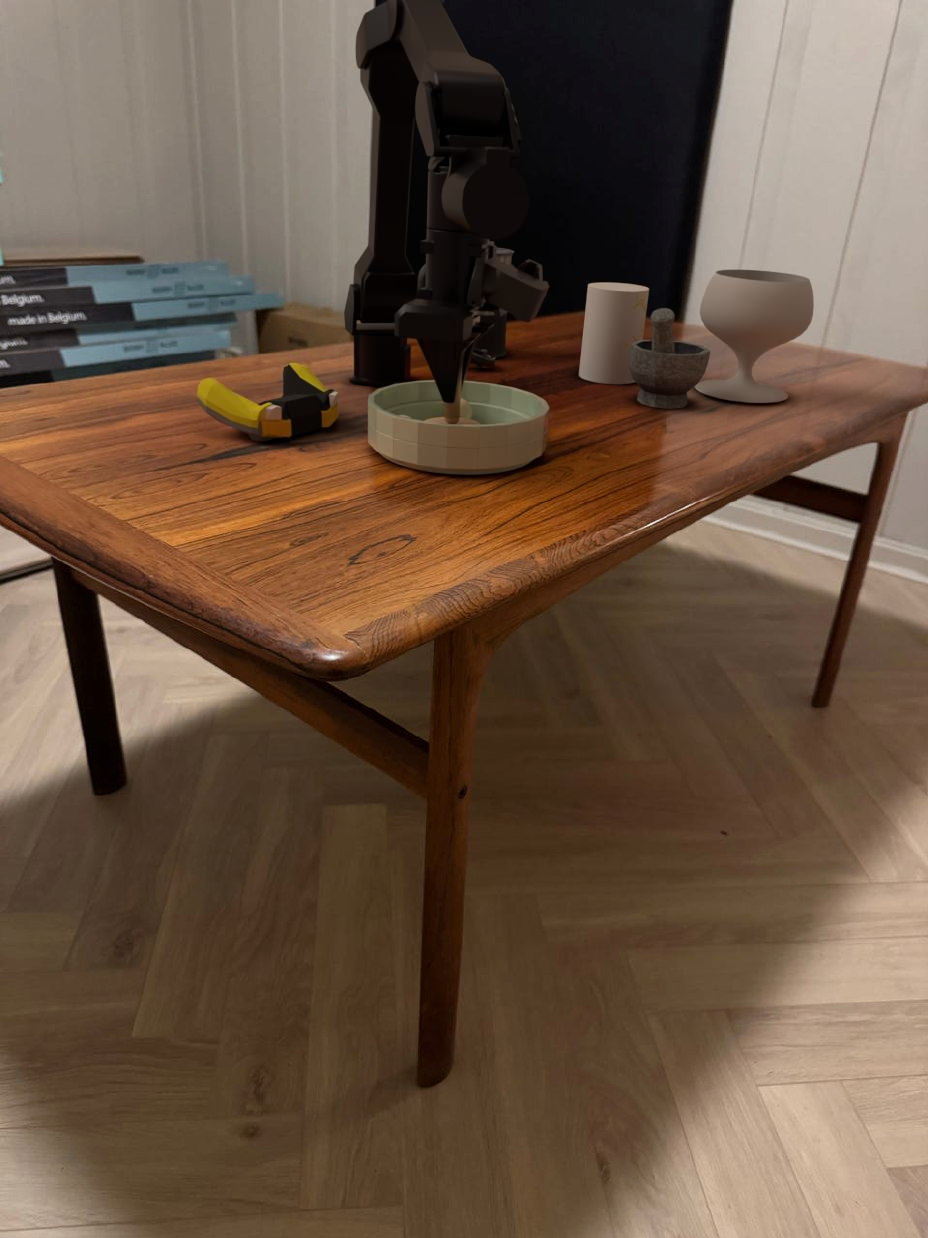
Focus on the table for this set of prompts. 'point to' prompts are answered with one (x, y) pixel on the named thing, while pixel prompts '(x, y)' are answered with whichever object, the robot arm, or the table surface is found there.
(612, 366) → the tall cream tube
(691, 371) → the mortar and pestle
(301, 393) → the gaming controller
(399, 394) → the bowl
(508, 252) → the milk frother
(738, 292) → the chalice
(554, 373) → the table surface
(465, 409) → the dumpling
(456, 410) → the stirrer
